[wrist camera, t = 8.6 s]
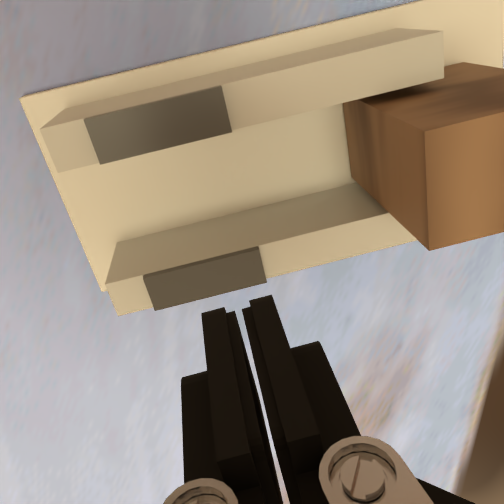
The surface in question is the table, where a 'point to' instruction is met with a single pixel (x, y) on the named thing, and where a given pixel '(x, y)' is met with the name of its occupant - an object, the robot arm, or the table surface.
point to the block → (434, 154)
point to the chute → (241, 151)
